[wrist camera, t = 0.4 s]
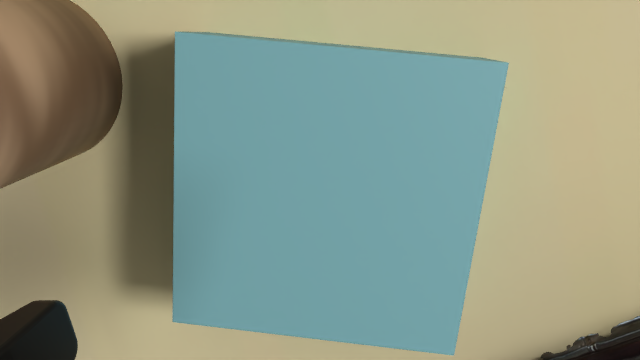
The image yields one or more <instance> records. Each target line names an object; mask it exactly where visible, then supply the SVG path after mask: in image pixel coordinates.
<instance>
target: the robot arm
mask: <svg viewBox="0 0 640 360" xmlns="http://www.w3.org/2000/svg"><path fill="white" fill-rule="evenodd" d="M77 348H78V344H77V338H76V335H75V332H74V329H73V326H72V323H71V320H70V317H69V315H68V312H67V309H66V307H65V305H64V304H63V303H62V302H60V301H57V300H39V301H33V302H31V303H29V304H27V305H25V306H24V307H22V308H20V309H18V310H16V311H15V312H13V313H11V314H9V315H7V316H6V317H4V318H2V319H0V360H75V357H76V354H77Z"/></svg>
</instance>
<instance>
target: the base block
mask: <svg viewBox="0 0 640 360" xmlns="http://www.w3.org/2000/svg"><path fill="white" fill-rule="evenodd" d="M508 64H509V63H507V62H502V61H496V60H491V59H486V58H479V57H468V56H457V55H447V54H436V53H425V52H414V51H404V50H393V49H382V48H371V47H360V46H350V45H339V44H328V43H317V42H307V41H296V40H285V39H274V38H264V37H253V36H242V35H231V34H221V33H210V32H175V97H174V219H173V322H177V323H186V324H194V325H203V326H211V327H219V328H228V329H236V330H245V331H253V332H261V333H270V334H278V335H287V336H295V337H303V338H312V339H320V340H329V341H337V342H345V343H354V344H362V345H371V346H379V347H387V348H396V349H404V350H413V351H421V352H429V353H438V354H446V355H454V352H455V347H456V341H457V336H458V331H459V325H460V320H461V315H462V309H463V304H464V299H465V293H466V288H467V283H468V277H469V272H470V267H471V261H472V256H473V251H474V245H475V240H476V235H477V229H478V224H479V219H480V213H481V208H482V203H483V197H484V192H485V187H486V181H487V176H488V171H489V165H490V160H491V155H492V149H493V144H494V139H495V133H496V128H497V123H498V117H499V112H500V107H501V101H502V96H503V91H504V85H505V80H506V75H507V69H508Z"/></svg>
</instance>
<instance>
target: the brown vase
mask: <svg viewBox="0 0 640 360" xmlns="http://www.w3.org/2000/svg"><path fill="white" fill-rule="evenodd" d="M121 99H122V76H121V70H120V66H119V62H118V59H117V56H116V53H115V51H114V49H113V46H112V44H111V42H110V40H109V39H108V37H107V36H106V34H105V32H104V31H103V30H102V28H101V27H100V26H99V25H98V23H97V22H96V21H95V20H94V19H93V18H92V17H91V16H90V15H89V14H88V13H87V12H86V11H84V10H83V9H82V8H81V7H79V6H78V5H76V4H75V3H73V2H71V1H70V0H0V188H3V187H5V186H7V185H10V184H12V183H14V182H17V181H19V180H21V179H24V178H26V177H28V176H30V175H33V174H35V173H37V172H40V171H42V170H44V169H47V168H49V167H51V166H54V165H56V164H58V163H60V162H63V161H65V160H67V159H70V158H72V157H74V156H77V155H79V154H81V153H84V152H85V151H87V150H89V149H91V148H92V147H94V146H95V145H96V144H98V143H99V142H100V141H101V140H102V139H103V138H104V137H105V136H106V135H107V133H108V132H109V130H110V129H111V127H112V126H113V124H114V122H115V120H116V118H117V115H118V112H119V109H120V104H121Z"/></svg>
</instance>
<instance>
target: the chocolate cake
mask: <svg viewBox="0 0 640 360" xmlns="http://www.w3.org/2000/svg"><path fill="white" fill-rule="evenodd" d="M570 347H571V346H570V345H568V346H567V351H565V352H562V353H557V354H553V353H551V352H546V353H543V354H542V356H541V358H544V359H543V360H640V316H637V317H636V318H634V319H633V320H628V321H625V322H623V323H620V324H619V325H617V326H615V327H613V328H612V329H611V336H610V337H602V336H599V334H598V333H597V334H590V335H588V336H586V337H580V338H579V339H578V340H576V341H575V342H574V343H573V346H572V347H571V348H570Z"/></svg>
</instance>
